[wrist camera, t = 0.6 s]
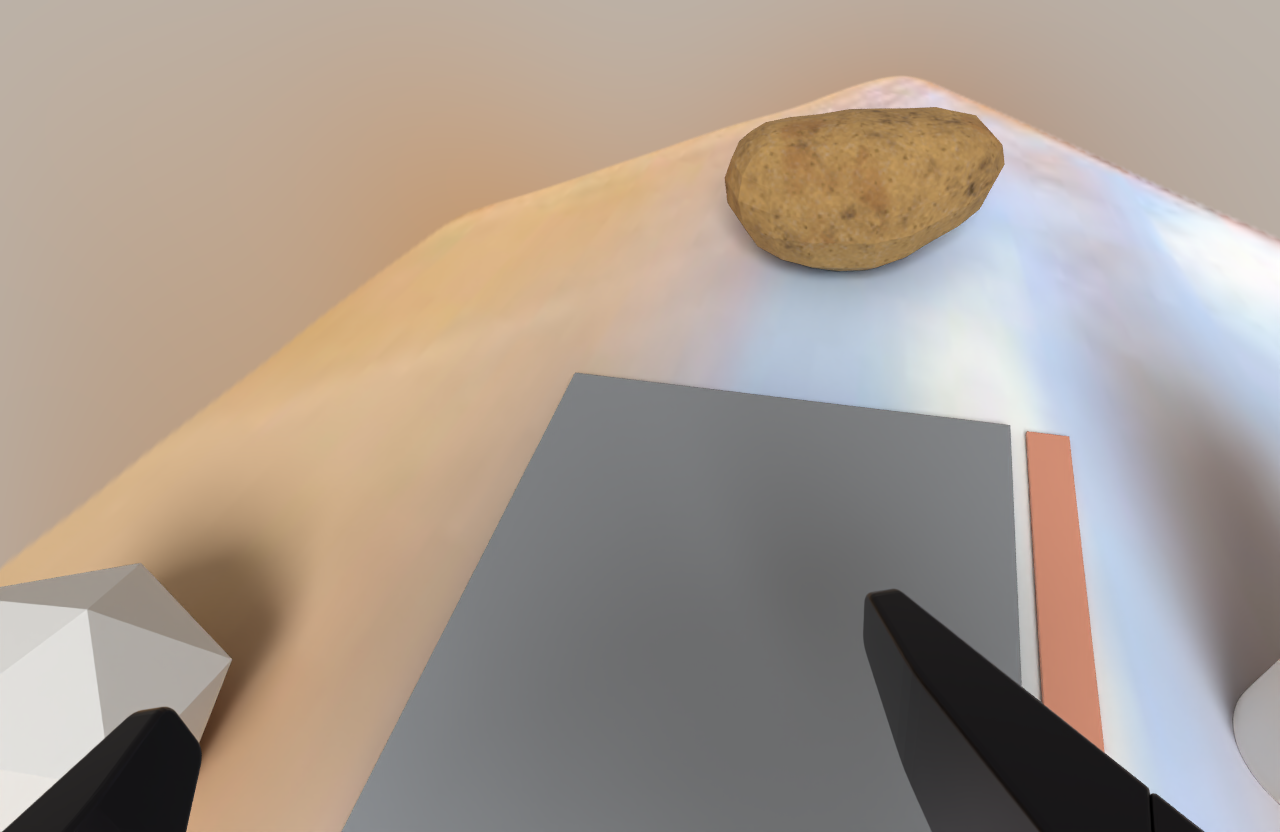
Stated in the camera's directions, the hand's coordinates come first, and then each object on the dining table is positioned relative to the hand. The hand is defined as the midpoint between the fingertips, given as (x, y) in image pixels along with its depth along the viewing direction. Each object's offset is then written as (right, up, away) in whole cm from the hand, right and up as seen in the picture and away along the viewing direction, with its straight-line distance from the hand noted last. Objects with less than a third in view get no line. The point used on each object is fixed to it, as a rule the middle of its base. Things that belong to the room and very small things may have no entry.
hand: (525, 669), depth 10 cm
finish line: (+15, -5, +15) cm, 22 cm away
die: (-17, -9, +17) cm, 26 cm away
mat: (+5, -4, +18) cm, 19 cm away
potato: (+14, +12, +33) cm, 37 cm away
